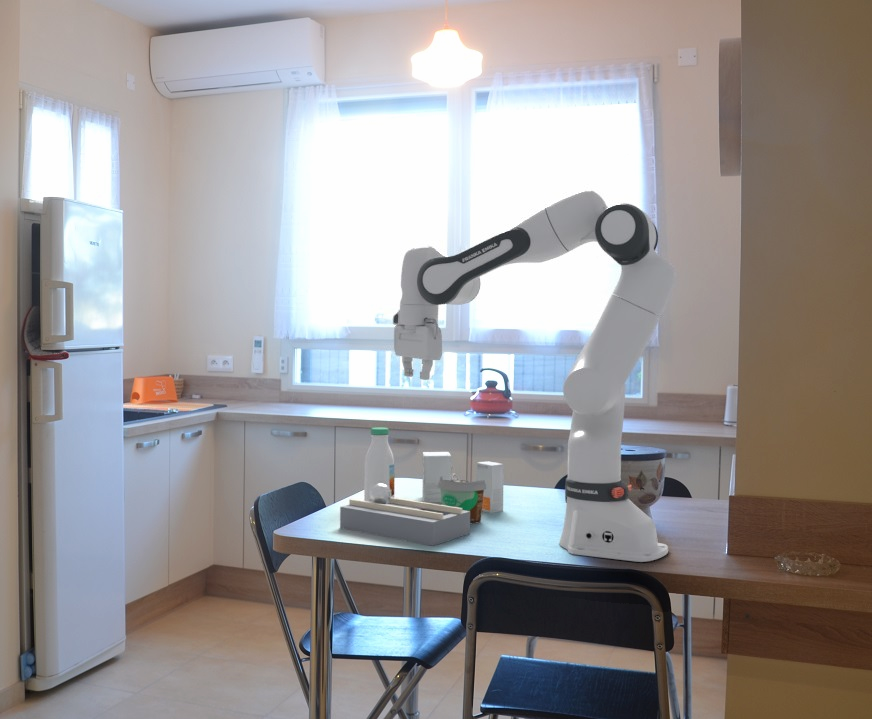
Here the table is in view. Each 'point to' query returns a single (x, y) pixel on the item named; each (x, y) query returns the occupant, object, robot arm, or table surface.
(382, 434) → the milk bottle
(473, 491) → the food container
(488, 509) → the skincare box
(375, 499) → the steel ball
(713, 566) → the table surface
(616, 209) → the robot arm
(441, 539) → the grey slotted tray
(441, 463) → the supplement box
